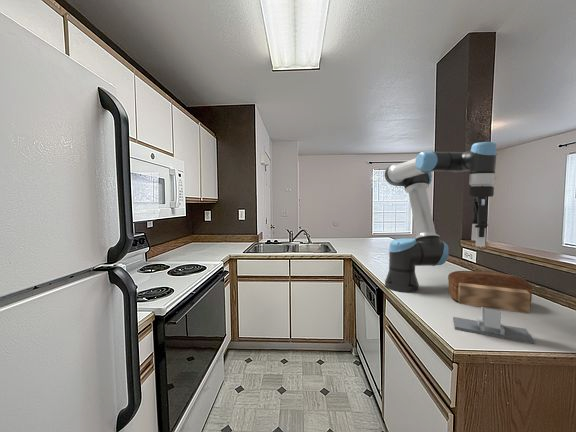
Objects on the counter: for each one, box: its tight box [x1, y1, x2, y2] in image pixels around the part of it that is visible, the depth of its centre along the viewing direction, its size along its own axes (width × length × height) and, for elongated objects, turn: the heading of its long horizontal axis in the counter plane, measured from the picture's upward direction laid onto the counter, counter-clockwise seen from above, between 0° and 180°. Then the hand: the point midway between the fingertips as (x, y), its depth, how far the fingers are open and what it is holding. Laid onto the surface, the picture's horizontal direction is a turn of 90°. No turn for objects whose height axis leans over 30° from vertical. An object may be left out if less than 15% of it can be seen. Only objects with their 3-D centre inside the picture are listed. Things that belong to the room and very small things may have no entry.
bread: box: [447, 270, 533, 305], centre depth 117 cm, size 14×28×12 cm, turn 72°
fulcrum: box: [452, 307, 536, 344], centre depth 90 cm, size 20×9×8 cm, turn 63°
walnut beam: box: [457, 283, 531, 314], centre depth 90 cm, size 18×4×6 cm, turn 63°
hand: (477, 243), depth 105 cm, fingers open, 13 cm apart
